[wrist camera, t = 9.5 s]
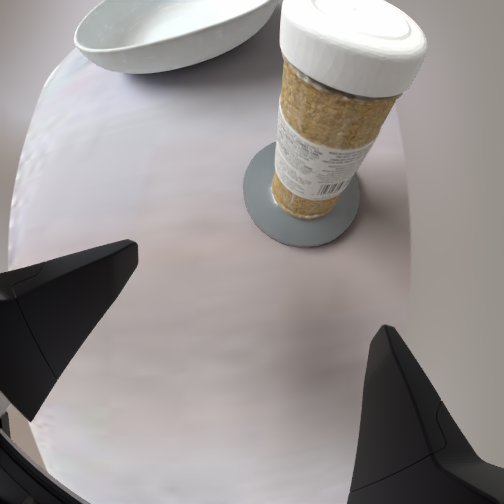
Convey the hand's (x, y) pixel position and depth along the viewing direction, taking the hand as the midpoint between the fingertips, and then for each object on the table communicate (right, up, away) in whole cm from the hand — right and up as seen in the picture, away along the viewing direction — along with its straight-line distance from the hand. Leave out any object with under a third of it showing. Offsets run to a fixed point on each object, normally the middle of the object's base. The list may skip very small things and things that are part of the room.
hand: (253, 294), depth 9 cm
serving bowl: (-8, +25, +15) cm, 30 cm away
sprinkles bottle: (+3, +5, +9) cm, 11 cm away
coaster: (+3, +6, +10) cm, 12 cm away
